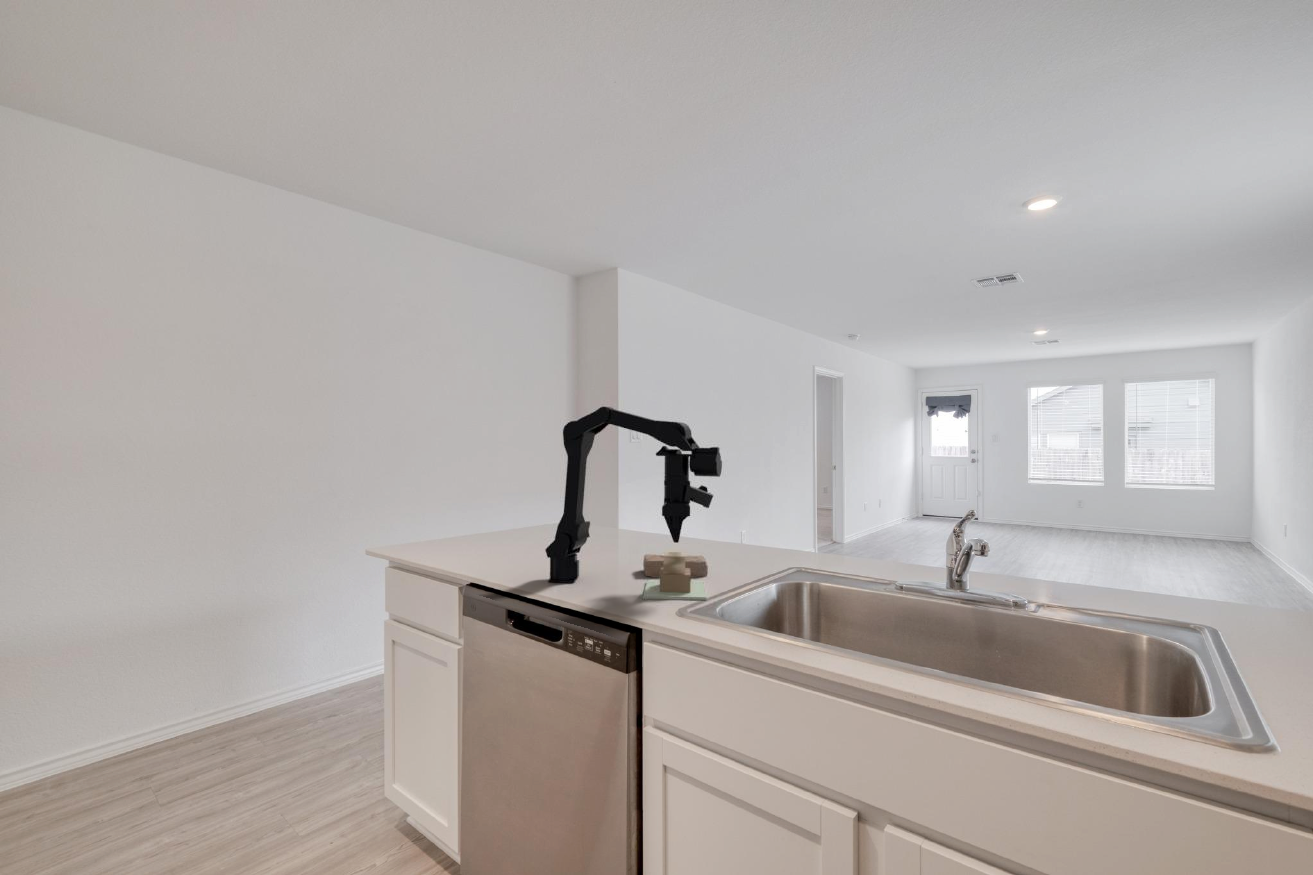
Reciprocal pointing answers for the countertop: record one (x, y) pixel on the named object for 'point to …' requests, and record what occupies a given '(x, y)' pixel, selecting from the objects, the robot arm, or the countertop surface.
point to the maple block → (674, 563)
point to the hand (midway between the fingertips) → (676, 542)
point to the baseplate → (683, 596)
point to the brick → (693, 562)
